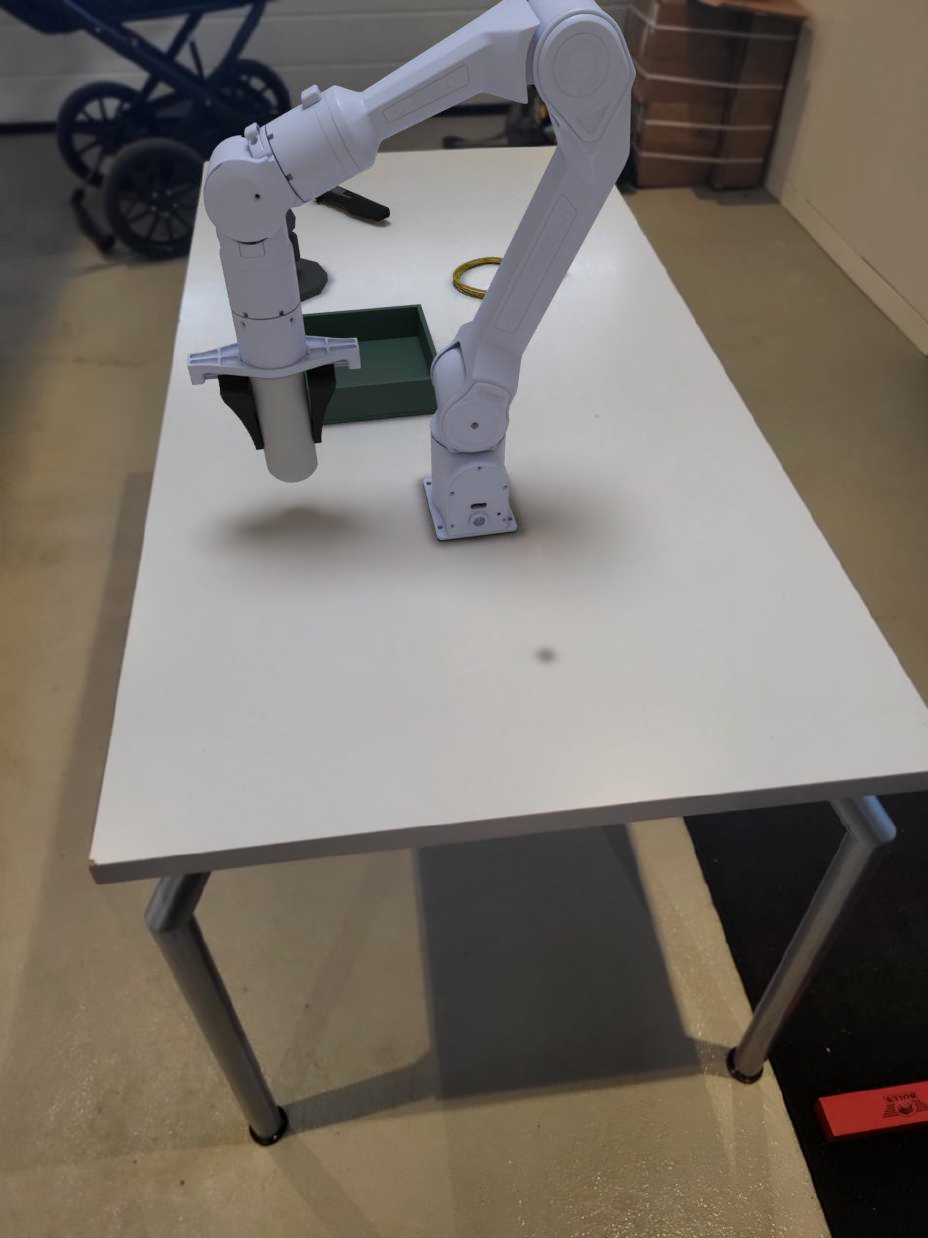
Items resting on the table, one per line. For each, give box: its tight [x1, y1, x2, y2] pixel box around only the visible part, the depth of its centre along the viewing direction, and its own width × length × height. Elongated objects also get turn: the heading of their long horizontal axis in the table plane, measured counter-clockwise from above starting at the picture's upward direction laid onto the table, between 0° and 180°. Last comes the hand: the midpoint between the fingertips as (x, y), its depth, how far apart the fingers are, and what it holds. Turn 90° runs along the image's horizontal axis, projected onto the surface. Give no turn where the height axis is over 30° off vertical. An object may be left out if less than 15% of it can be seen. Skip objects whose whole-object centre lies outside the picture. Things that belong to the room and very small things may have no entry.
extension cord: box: [452, 256, 503, 299], centre depth 123 cm, size 12×16×2 cm
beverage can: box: [249, 371, 319, 484], centre depth 81 cm, size 5×5×12 cm
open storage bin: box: [302, 303, 438, 425], centre depth 104 cm, size 17×17×4 cm
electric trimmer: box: [314, 185, 391, 222], centre depth 138 cm, size 4×16×3 cm, turn 47°
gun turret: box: [285, 208, 329, 302], centre depth 116 cm, size 13×20×13 cm, turn 9°
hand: (289, 440), depth 82 cm, fingers closed on beverage can, 5 cm apart
